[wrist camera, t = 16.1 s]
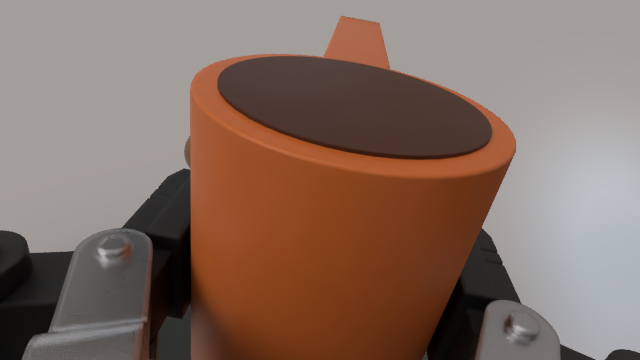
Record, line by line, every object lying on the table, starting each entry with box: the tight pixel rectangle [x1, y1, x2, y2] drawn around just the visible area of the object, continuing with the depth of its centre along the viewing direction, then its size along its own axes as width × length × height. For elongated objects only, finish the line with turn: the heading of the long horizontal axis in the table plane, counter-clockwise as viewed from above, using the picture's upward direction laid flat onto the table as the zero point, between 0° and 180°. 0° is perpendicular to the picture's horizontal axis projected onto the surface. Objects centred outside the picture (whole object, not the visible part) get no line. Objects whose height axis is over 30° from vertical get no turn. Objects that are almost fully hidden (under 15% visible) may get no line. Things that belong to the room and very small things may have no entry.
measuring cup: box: [190, 16, 516, 360], centre depth 13 cm, size 13×5×10 cm, turn 174°
